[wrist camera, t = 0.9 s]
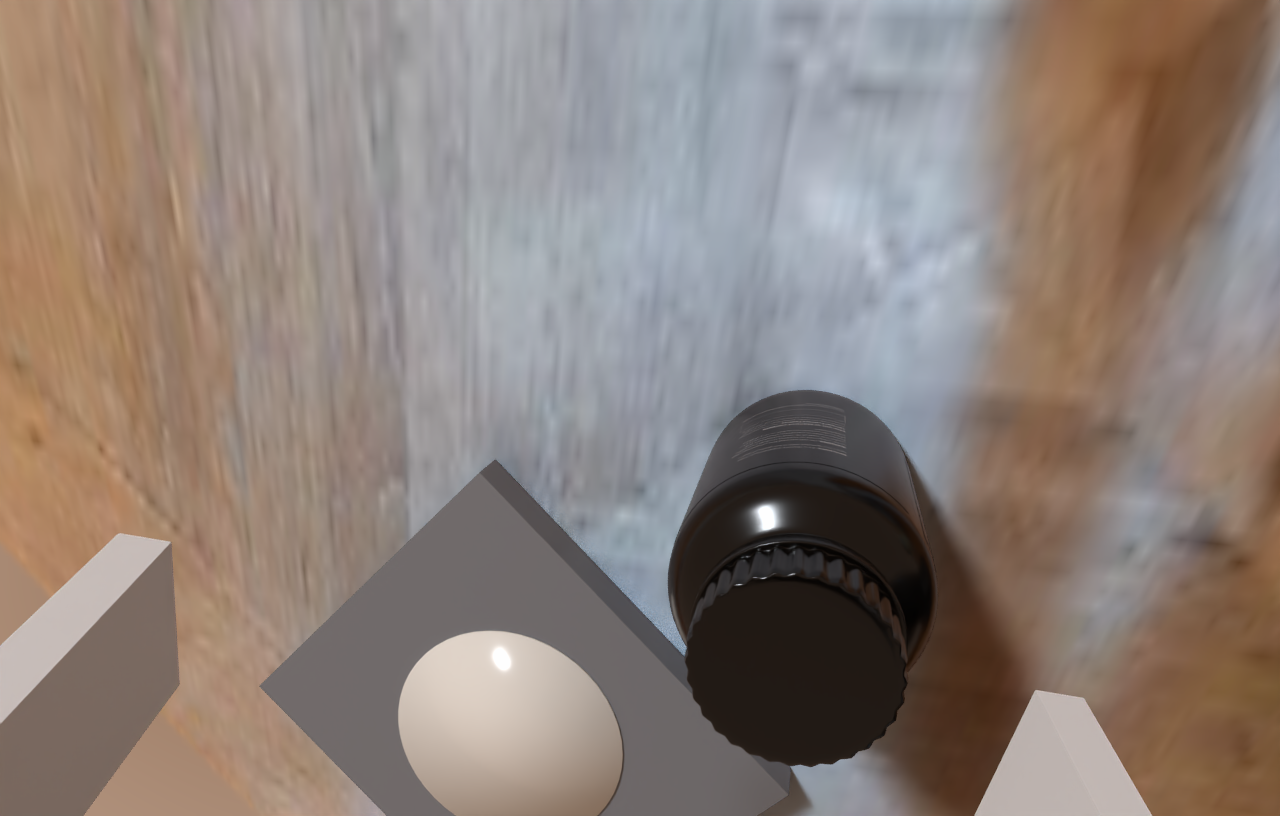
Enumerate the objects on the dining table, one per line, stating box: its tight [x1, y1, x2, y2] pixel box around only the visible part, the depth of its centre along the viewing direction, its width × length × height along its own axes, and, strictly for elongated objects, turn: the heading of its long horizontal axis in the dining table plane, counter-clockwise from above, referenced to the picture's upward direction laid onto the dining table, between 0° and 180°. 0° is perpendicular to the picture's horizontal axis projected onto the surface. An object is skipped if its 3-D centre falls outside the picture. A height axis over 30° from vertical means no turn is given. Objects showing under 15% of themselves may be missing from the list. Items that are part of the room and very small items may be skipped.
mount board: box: [260, 460, 791, 816], centre depth 34 cm, size 16×14×2 cm
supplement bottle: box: [668, 390, 938, 767], centre depth 24 cm, size 7×7×12 cm
